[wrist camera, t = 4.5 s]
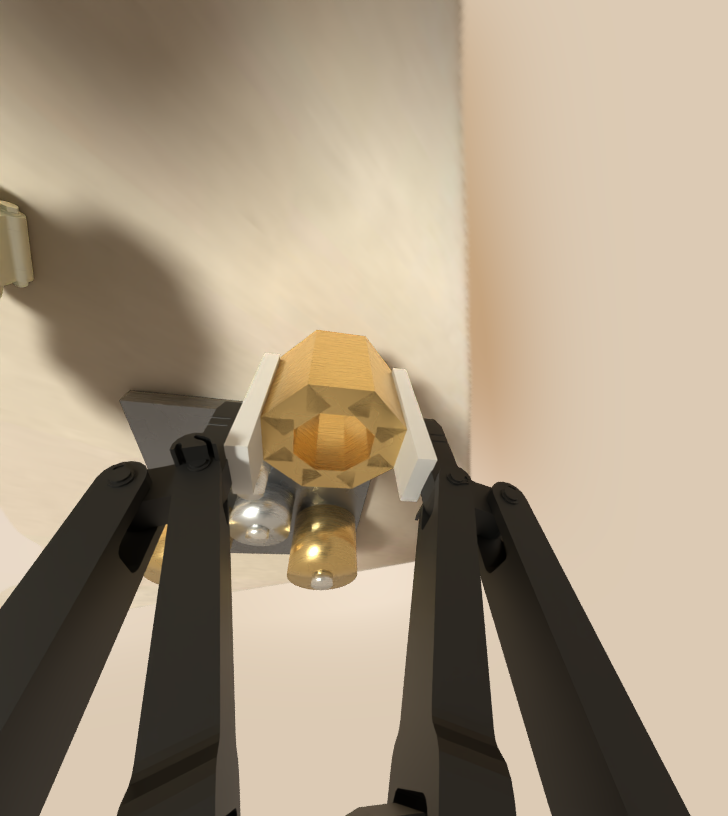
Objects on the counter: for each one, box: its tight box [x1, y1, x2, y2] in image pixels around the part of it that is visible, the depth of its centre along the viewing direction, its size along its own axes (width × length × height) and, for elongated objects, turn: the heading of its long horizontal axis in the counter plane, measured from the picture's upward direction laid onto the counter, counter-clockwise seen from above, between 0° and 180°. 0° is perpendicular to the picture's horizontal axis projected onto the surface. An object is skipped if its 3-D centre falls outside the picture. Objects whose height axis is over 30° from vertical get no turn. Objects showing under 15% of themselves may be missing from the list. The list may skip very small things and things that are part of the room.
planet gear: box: [260, 330, 407, 489], centre depth 14 cm, size 6×6×5 cm
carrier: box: [119, 390, 371, 590], centre depth 24 cm, size 20×18×7 cm
